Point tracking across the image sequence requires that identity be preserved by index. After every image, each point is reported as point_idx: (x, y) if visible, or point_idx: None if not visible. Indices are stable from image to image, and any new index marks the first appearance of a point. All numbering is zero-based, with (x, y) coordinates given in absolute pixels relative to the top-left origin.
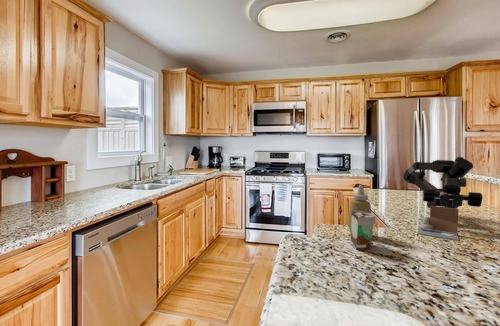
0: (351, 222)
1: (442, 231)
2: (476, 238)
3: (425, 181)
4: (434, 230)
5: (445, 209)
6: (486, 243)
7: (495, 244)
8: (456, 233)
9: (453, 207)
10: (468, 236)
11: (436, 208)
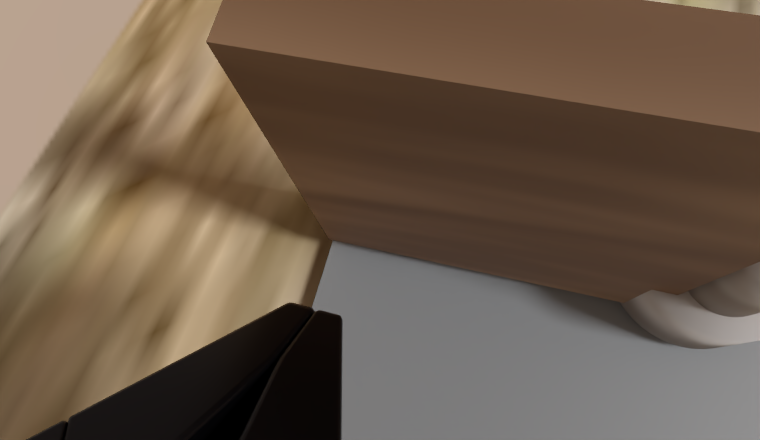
0: None
1: (475, 299)
2: (173, 193)
3: None
4: (571, 307)
5: (528, 15)
6: (179, 40)
7: (113, 44)
8: (325, 272)
9: (173, 390)
10: (219, 248)
11: (758, 45)
